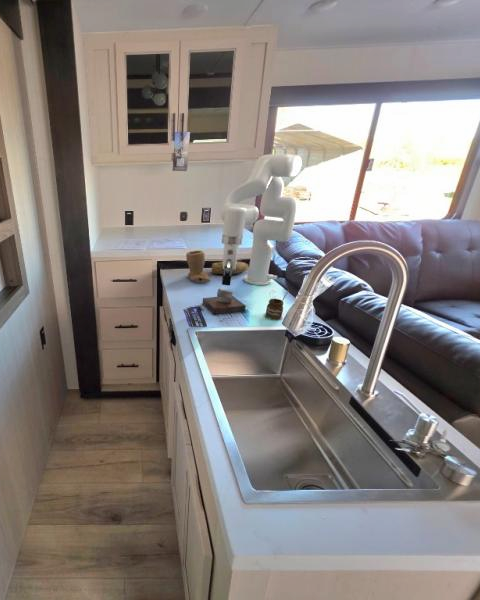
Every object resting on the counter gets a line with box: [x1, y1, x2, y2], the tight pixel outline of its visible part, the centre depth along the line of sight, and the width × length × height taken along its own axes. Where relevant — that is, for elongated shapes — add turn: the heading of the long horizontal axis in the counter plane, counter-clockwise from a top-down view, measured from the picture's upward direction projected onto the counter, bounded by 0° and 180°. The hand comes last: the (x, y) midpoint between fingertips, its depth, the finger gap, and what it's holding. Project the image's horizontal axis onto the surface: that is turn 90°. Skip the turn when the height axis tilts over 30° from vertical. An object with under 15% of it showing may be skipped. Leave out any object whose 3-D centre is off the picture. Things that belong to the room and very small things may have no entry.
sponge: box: [211, 260, 249, 275], centre depth 175 cm, size 13×8×20 cm
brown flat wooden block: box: [202, 295, 246, 316], centre depth 133 cm, size 14×11×3 cm
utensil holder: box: [265, 289, 289, 321], centre depth 124 cm, size 6×6×12 cm
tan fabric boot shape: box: [185, 250, 211, 284], centre depth 164 cm, size 15×12×15 cm
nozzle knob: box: [216, 288, 234, 303], centre depth 132 cm, size 6×2×5 cm, turn 72°
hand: (226, 281), depth 129 cm, fingers open, 9 cm apart
